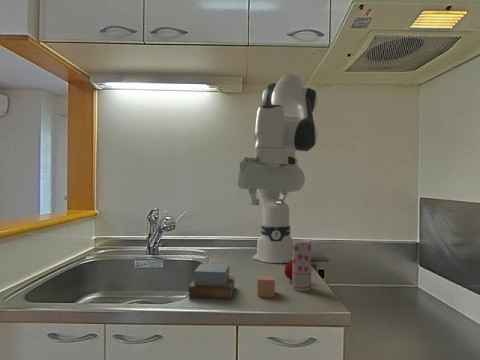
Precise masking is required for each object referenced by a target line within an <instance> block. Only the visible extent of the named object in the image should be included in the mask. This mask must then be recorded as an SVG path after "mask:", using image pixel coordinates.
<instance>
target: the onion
mask: <svg viewBox="0 0 480 360" xmlns="http://www.w3.org/2000/svg"><path fill="white" fill-rule="evenodd" d="M283 272H284V275H285V276H286V278H287V279H288V280H290V281H291V282H292V273H293V258H292V260H290V261H289V262H286V263H285V266H284V270H283Z"/></svg>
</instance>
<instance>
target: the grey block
mask: <svg viewBox="0 0 480 360" xmlns="http://www.w3.org/2000/svg"><path fill="white" fill-rule="evenodd" d="M193 276H194V277H193V280H194V285H206V286H225V285H226V283H227V281H228V279H229V276H230V264H220V263H219V264H214V263H211V264H210V263H200V264H199V265H198V266H197V268H196V269H195V270H194V272H193Z"/></svg>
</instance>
